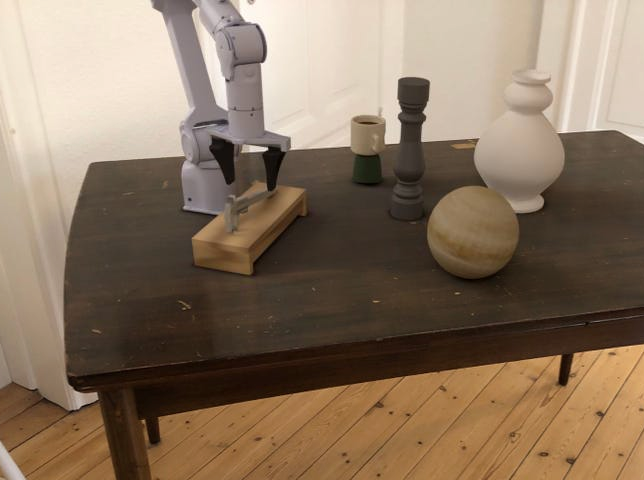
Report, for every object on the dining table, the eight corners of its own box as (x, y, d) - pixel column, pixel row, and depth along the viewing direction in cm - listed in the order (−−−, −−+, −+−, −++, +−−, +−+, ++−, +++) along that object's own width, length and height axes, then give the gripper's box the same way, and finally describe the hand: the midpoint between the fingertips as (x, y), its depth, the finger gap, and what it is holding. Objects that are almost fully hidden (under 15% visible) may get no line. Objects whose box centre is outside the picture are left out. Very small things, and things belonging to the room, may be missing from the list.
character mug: (392, 188, 154) (395, 126, 147) (360, 192, 152) (361, 129, 144) (372, 170, 162) (374, 110, 155) (342, 174, 160) (342, 113, 152)
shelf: (194, 265, 123) (191, 238, 120) (258, 206, 144) (256, 181, 141) (250, 275, 121) (248, 247, 119) (306, 213, 142) (306, 189, 139)
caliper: (232, 236, 122) (228, 200, 118) (226, 235, 122) (222, 199, 118) (278, 190, 138) (277, 158, 135) (273, 189, 138) (271, 157, 135)
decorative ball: (415, 255, 130) (420, 173, 121) (495, 250, 133) (506, 170, 124) (437, 298, 118) (444, 211, 109) (525, 292, 121) (539, 206, 113)
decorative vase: (458, 207, 148) (470, 78, 133) (484, 178, 161) (498, 57, 147) (545, 225, 143) (568, 93, 128) (564, 193, 156) (587, 70, 142)
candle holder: (389, 206, 147) (395, 76, 132) (420, 207, 147) (429, 76, 133) (391, 220, 142) (397, 85, 127) (424, 220, 142) (433, 86, 128)
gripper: (192, 107, 118) (201, 188, 125) (277, 118, 115) (281, 200, 123) (212, 95, 123) (220, 173, 131) (294, 106, 120) (297, 185, 128)
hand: (251, 186), depth 127 cm, fingers open, 7 cm apart
